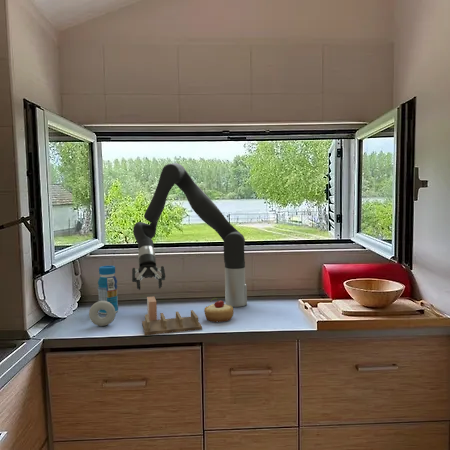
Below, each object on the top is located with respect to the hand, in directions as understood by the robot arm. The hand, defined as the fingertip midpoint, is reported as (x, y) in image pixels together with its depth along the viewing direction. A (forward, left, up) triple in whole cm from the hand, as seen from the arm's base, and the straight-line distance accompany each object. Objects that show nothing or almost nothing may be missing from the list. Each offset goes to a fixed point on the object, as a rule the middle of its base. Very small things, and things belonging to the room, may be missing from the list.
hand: (149, 288), depth 176 cm
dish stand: (-6, +22, -11) cm, 25 cm away
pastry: (-26, +18, -11) cm, 33 cm away
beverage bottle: (+17, -8, -11) cm, 22 cm away
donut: (+19, +12, -11) cm, 25 cm away
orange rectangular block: (0, +8, -11) cm, 13 cm away
